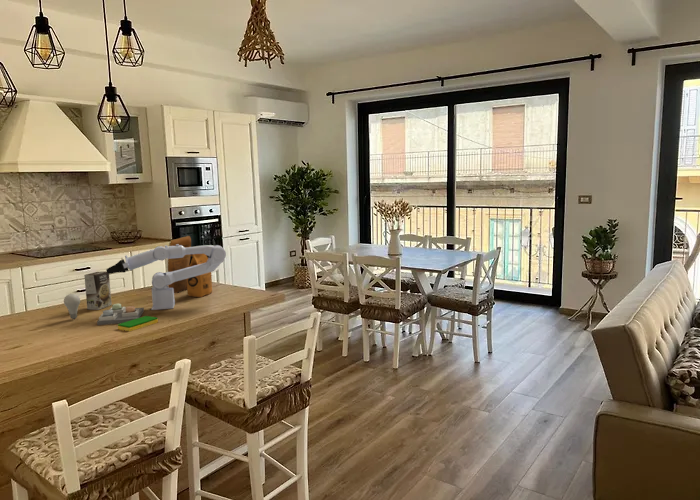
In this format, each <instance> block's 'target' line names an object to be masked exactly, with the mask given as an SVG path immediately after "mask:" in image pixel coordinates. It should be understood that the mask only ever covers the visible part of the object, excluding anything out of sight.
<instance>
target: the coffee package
mask: <svg viewBox="0 0 700 500" xmlns="http://www.w3.org/2000/svg"><path fill="white" fill-rule="evenodd" d="M190 255H191V257H192V258H191V259H190V263H189V267H191V266H195V265H199V264H202V263H206V262H207V260H208V258H209V257H208V256H207V255H205V254H190ZM212 276H213V275H212V272H209V273H205V274H202V275H198V276H194V277H191V278H187V290H186V291H187V292H186V293H187V295H188V297H194V298H203V297H205V296H209V295H210V294H212V293H213V285H212V284H213V282H212V281H213V280H212V279H213V277H212Z"/></svg>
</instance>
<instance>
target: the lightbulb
mask: <svg viewBox="0 0 700 500" xmlns="http://www.w3.org/2000/svg"><path fill="white" fill-rule="evenodd" d="M80 303H81V298H80V296H79V295H78V294H76V293H68V294H66V296H65V297H64V298H63V304H64V306H65V307H66V309H67V310H68V314H69V317H70V319H72V320H75V319H77V318H78V308H79V305H80Z"/></svg>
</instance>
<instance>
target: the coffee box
mask: <svg viewBox="0 0 700 500" xmlns="http://www.w3.org/2000/svg"><path fill="white" fill-rule="evenodd" d="M84 285H85V297H86V299H85V300H86V309H87V310H91V311H92V310H93V311H94V310H96V311H98V310H102V309H105V308H108V307H111V306H112V305H113V304H112V295H111V294H112V293H111V292H112V291H111V280H110V274H108V273H107V271H95V272H91V273H87V274H84Z"/></svg>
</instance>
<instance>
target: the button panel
mask: <svg viewBox="0 0 700 500" xmlns="http://www.w3.org/2000/svg"><path fill="white" fill-rule="evenodd" d="M121 308H122V309H120V310H113V315H112V316H105V317H104V316H103V313H101V315H99V316H98V320H97V321H96V323H97V326H104V325H115V324H116V325H118V324H121V323H124V322H127V321H131V320H134V319H137V318H141V317H142V315H143V313H144V311H145V308H144V307H135V312H131V313H126V306H121ZM108 310H112V307H110V309H108Z"/></svg>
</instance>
